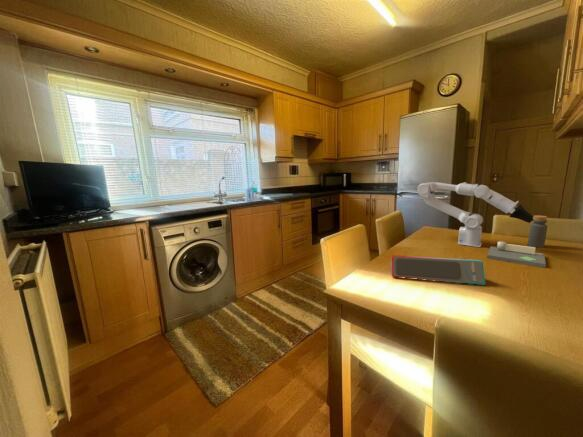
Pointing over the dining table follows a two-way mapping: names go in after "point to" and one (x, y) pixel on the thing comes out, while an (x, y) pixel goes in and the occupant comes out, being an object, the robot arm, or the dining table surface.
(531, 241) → the bottle
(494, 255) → the board
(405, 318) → the dining table surface
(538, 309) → the dining table surface
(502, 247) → the peg lever
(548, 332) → the dining table surface
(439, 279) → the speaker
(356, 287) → the dining table surface
